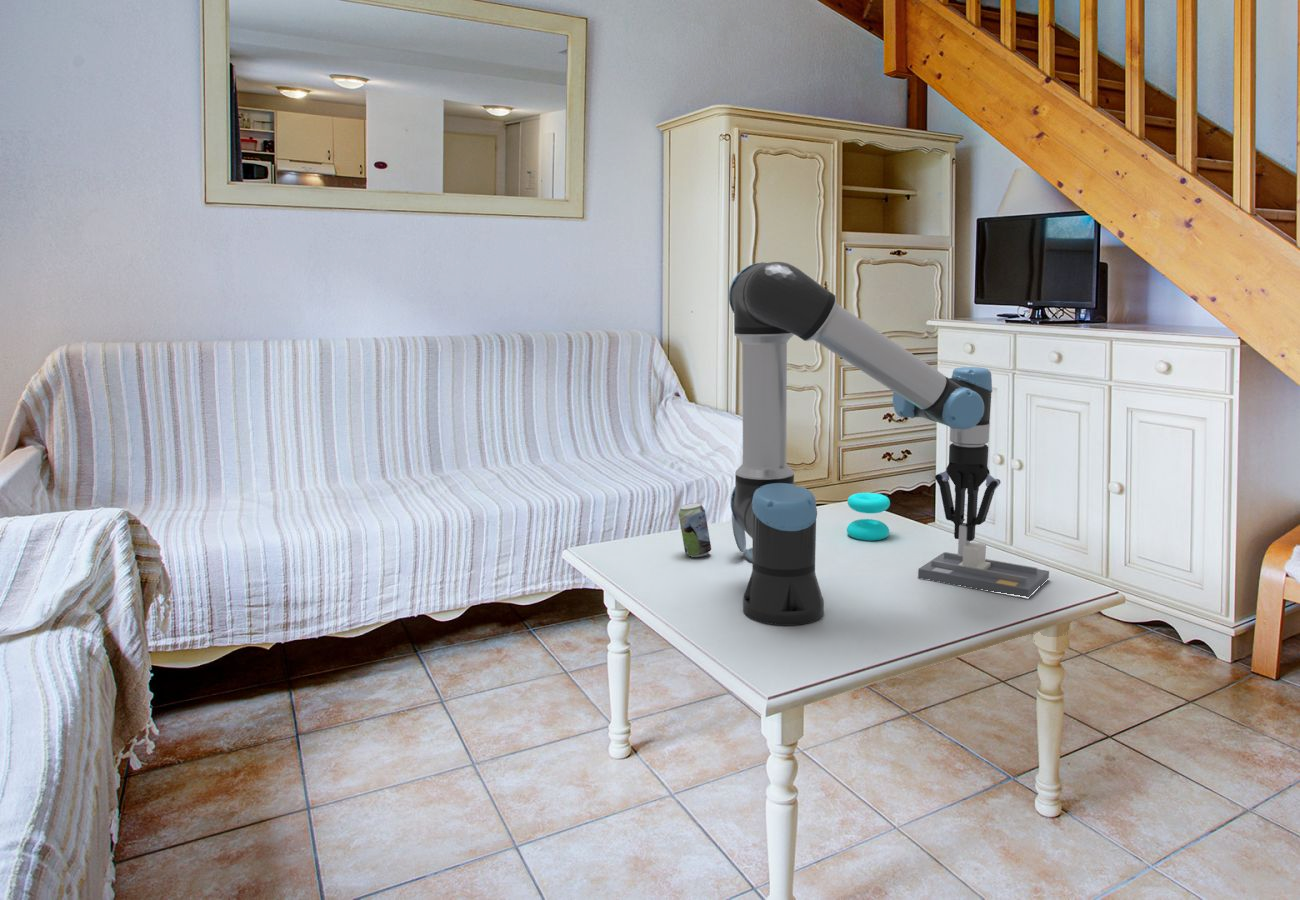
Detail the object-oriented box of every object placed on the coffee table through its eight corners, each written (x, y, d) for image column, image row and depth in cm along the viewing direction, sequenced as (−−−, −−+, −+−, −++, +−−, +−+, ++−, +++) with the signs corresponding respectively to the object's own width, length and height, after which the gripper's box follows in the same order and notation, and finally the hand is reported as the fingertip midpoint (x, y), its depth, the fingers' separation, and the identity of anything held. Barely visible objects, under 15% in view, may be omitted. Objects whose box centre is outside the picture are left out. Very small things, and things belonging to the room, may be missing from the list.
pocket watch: (736, 504, 207) (802, 508, 203) (736, 550, 209) (802, 554, 205) (729, 515, 197) (798, 519, 193) (729, 563, 199) (797, 568, 195)
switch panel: (1028, 599, 174) (1029, 583, 173) (918, 578, 187) (918, 563, 186) (1048, 580, 184) (1049, 565, 184) (943, 561, 198) (943, 547, 197)
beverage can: (711, 559, 202) (711, 507, 200) (679, 559, 202) (678, 508, 200) (710, 551, 208) (710, 500, 206) (678, 551, 208) (678, 501, 206)
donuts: (891, 492, 220) (889, 502, 210) (889, 532, 221) (888, 543, 212) (849, 490, 222) (845, 499, 213) (848, 529, 224) (844, 540, 215)
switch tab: (980, 573, 183) (982, 551, 182) (956, 569, 186) (957, 547, 185) (990, 566, 187) (991, 544, 186) (966, 562, 190) (967, 540, 189)
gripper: (1007, 443, 182) (1001, 555, 186) (944, 438, 190) (939, 545, 194) (995, 449, 176) (989, 564, 181) (930, 443, 184) (926, 553, 189)
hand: (963, 554), depth 187 cm, fingers closed
